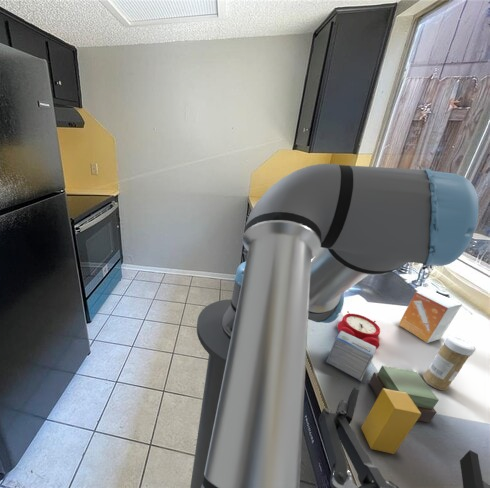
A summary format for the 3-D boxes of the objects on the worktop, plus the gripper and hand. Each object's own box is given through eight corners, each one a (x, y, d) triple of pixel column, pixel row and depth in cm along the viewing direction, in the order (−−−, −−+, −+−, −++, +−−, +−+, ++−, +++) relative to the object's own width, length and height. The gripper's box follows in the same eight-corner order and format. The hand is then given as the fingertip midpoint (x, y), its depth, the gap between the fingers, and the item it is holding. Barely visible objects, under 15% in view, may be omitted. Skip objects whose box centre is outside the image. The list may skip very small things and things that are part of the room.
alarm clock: (382, 320, 79) (388, 340, 67) (374, 338, 80) (379, 360, 68) (342, 307, 84) (341, 322, 72) (336, 324, 86) (334, 342, 74)
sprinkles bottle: (452, 393, 61) (482, 351, 56) (430, 389, 62) (458, 347, 57) (438, 376, 65) (465, 336, 60) (417, 373, 66) (442, 332, 61)
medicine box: (364, 371, 66) (377, 346, 62) (360, 382, 63) (373, 356, 59) (330, 353, 71) (340, 329, 67) (325, 362, 68) (335, 337, 65)
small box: (397, 325, 83) (414, 291, 77) (411, 321, 85) (428, 288, 79) (427, 343, 76) (448, 307, 70) (441, 339, 78) (463, 304, 72)
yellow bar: (360, 427, 53) (382, 388, 48) (382, 432, 52) (407, 392, 48) (370, 448, 50) (395, 408, 45) (394, 454, 49) (421, 414, 44)
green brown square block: (368, 382, 63) (378, 363, 61) (406, 389, 62) (417, 370, 59) (386, 414, 56) (398, 394, 53) (429, 423, 55) (444, 403, 52)
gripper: (267, 492, 35) (312, 387, 49) (586, 780, 20) (515, 507, 34) (279, 461, 32) (323, 359, 46) (669, 775, 17) (552, 477, 31)
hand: (405, 422), depth 40 cm, fingers open, 13 cm apart
